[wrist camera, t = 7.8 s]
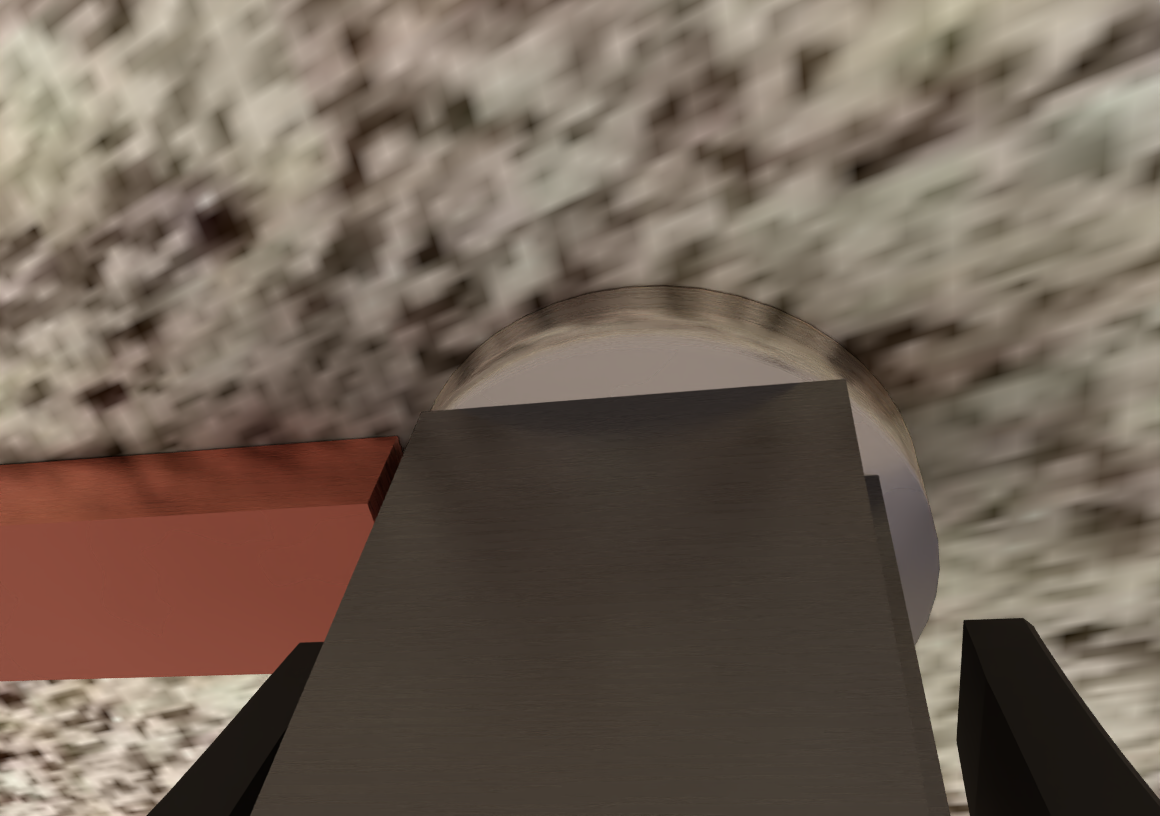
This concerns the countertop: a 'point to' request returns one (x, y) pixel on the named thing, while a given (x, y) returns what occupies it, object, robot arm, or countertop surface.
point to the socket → (621, 622)
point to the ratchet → (370, 495)
